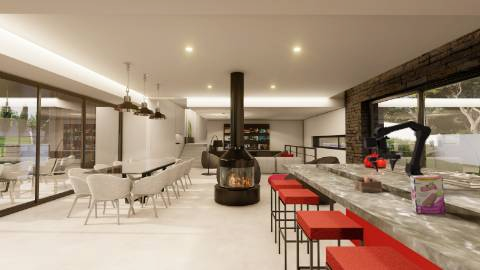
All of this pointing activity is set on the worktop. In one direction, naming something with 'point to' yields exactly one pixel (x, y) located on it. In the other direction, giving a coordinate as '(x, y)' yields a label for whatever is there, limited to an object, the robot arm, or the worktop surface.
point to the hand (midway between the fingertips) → (384, 171)
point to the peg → (367, 179)
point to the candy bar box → (427, 194)
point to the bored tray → (368, 185)
